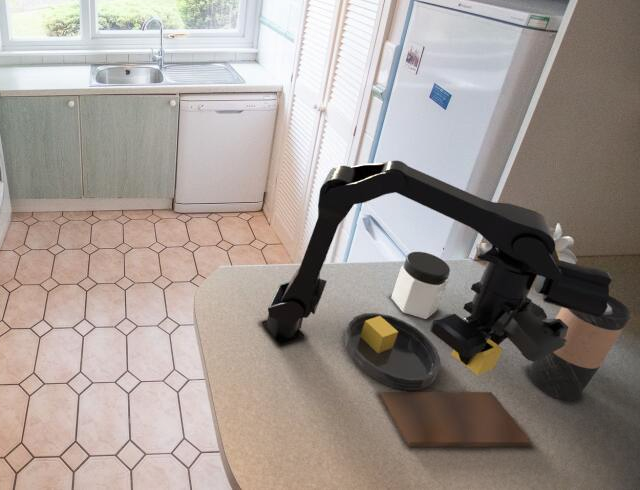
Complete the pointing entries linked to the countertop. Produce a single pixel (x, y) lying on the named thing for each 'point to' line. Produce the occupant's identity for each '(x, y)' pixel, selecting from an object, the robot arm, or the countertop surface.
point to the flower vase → (563, 245)
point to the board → (453, 419)
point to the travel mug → (579, 350)
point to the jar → (420, 284)
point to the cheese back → (379, 334)
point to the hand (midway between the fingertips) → (472, 359)
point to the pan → (394, 355)
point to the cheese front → (483, 359)
